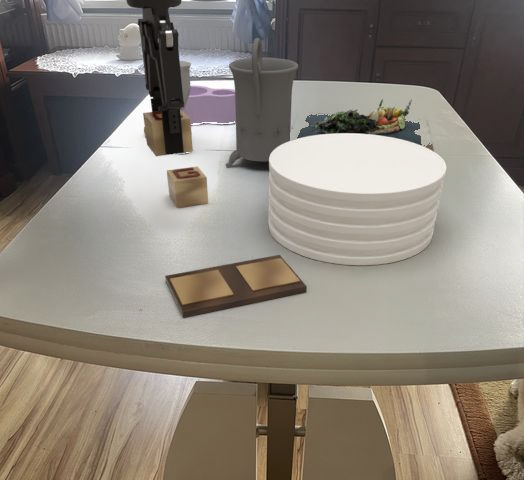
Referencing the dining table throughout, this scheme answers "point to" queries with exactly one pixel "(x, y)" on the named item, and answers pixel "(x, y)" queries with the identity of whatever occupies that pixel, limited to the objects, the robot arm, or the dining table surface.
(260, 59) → the mug
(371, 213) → the plate stack
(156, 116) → the letter O
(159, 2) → the robot arm
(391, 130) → the plated dish
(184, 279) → the word board
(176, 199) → the letter G
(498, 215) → the dining table surface
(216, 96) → the purple block with holes
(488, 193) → the dining table surface
